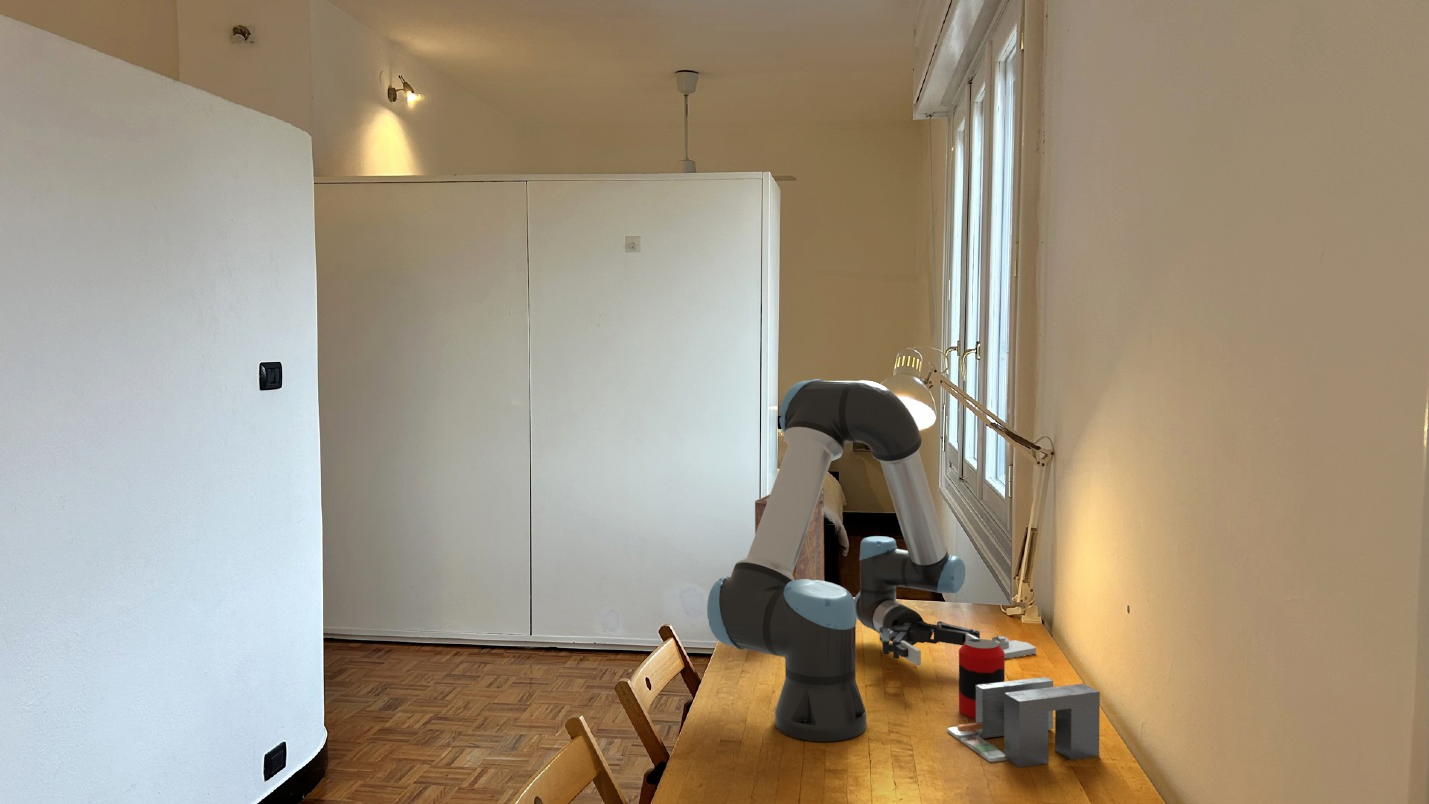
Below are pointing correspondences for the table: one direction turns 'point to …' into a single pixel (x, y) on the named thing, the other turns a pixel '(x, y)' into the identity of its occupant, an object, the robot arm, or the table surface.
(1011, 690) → the grey block
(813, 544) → the book
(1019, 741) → the gauge bed
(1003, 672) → the soda can
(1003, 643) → the grey flat angular piece
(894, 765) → the table surface
